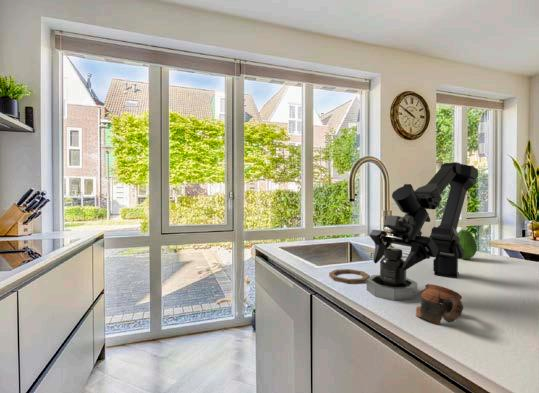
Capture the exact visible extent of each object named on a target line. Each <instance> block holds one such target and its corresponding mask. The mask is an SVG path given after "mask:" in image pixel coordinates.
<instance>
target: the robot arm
mask: <svg viewBox="0 0 539 393" xmlns="http://www.w3.org/2000/svg"><path fill="white" fill-rule="evenodd" d="M478 177H479V170H478V169H477V168H476V167H475V166H474V165H472V164H471V165H469V164H462V163H460V162H458V161H455V162H444V163H442V164H441V166H440V168H439V170H438V171H437V172H436V173H435V174H434V176H433V177H432V178H430V180H429V182H427V183H426V184H425V185H422V186H420V187H417V189H414V186H413V185H412V184H411V183H404V184H403V186H401V187H399V188H397V189H395V190H394V191H393V192H392V193H391V197H392V199H393V201H394V203H395V204H396V206H397V207H398V209H399V210H400V212H402V213H404V216H400V215H390V214H387V215H386V217H385V220H384V224H383V226H384V227H385V228H387V229H390V230H389V232H390V234H391V235H392V236H391V235H388V234H387V232H386V231H385V230H380V229H372V230H371V232H370V233H369V235H368V236H369V237H370V239H371V240H372V242H374V255H373V262H374V264H377V263H379V262H380V261H381V259H383V258H384V249H386V248H390V246H391V244H394V245H399V246H402V247H403V246H404V247H409V248H410V251H409V252H408V255H407V257H406V258H405V260H404V261H405V262H404V265H403V267H402V269H403V270H404V271H405V270H406V271H408V270H409V269H410V268H412V267H413V266H415V265H417V264H418V263H420V262H423V261H424V260H426V259H428V260H429V259H430V258H434V259H432V260H433V264H432V265H433V268H432V269H433V270H432V271H433V275H435V276H442V277H448V278H456V279H457V278H458V276H459V275H460V274H459V273H460V272H459V260H464V259H463V257H464V250H463V248H462V246H461V244H460V243H459V241H460V237H459V235H458V231H457V230H458V224H459V221H460V218H461V213H462V210H463V206H464V202H465V199H466V195H467V192H468V191H469V190H470V189H471V188H473V187H474V186H475V183H476V181H477V179H478ZM448 185H449V187H450V188H449V192H448V196H447V199H446V203H445V207H444V211H443V214H442V217H441V221H440V224H438V226H433V227H432V229H431V231H430V236H423V235H422V234H423V233H422V231H421V230H422V228H423V226H424V224H425V222H426V223H430V222H431V217H430V216H429V212H428V211H427V210H436V209H437V208H438V207H439V205H441V204H440V203H441V201H442V196H441V195H442V193H443V192H444V191H445V189H446V188H447V187H448Z"/></svg>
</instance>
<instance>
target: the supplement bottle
mask: <svg viewBox="0 0 539 393" xmlns="http://www.w3.org/2000/svg"><path fill="white" fill-rule="evenodd" d="M404 262H405V260H404V259H403V249H400V248H396V247H395V248H394V247H391V248H390V247H388V248H386V249H384V255H383V257H382V258H381V259H380V260H379V275H380V285H384V286H389V287H406V278H407V270H405V271H404V270H403V269H402V267H403V265H404Z"/></svg>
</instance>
